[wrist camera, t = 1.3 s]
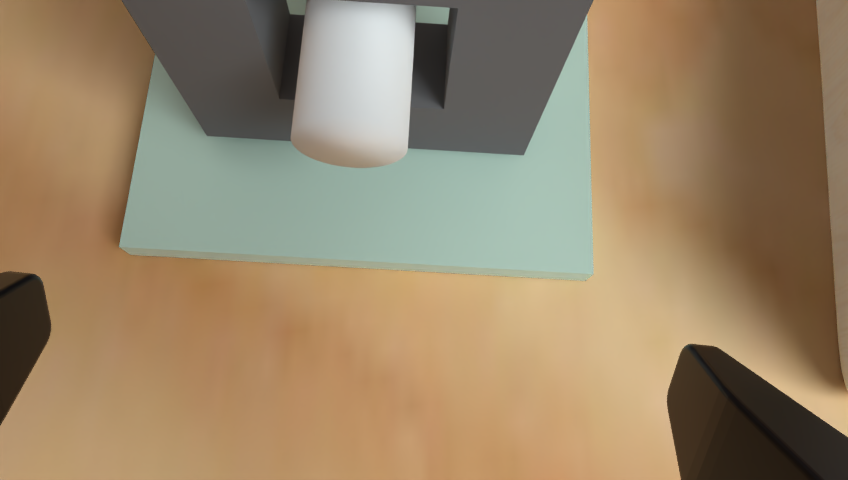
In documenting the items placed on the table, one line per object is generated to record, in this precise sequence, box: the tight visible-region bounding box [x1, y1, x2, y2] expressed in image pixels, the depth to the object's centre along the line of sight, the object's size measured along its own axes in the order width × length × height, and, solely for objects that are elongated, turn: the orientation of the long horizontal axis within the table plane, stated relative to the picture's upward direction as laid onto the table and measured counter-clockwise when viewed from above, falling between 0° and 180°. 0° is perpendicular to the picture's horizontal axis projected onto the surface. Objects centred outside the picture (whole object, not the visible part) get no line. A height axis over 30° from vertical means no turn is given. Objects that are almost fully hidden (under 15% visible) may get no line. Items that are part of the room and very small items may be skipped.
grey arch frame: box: [122, 0, 593, 155], centre depth 18 cm, size 3×11×11 cm, turn 87°
